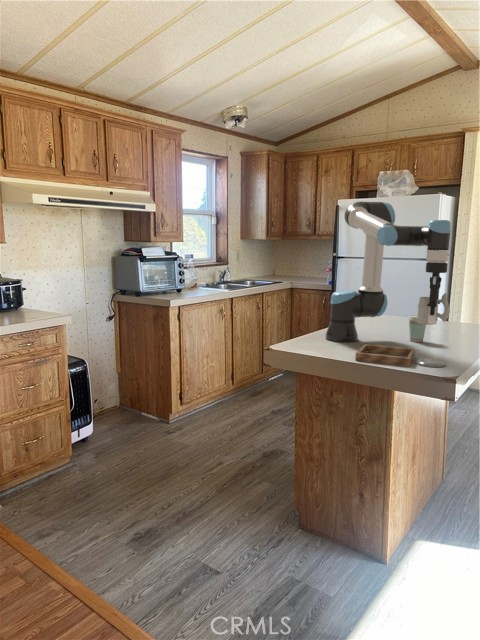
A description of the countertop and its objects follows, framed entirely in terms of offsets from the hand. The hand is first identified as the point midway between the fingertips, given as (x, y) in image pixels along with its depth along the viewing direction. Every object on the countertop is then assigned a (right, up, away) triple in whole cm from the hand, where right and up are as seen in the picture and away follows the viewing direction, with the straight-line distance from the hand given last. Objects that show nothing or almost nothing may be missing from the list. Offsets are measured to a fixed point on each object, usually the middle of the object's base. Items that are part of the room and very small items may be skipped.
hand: (432, 322), depth 183 cm
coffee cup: (+11, -9, +46) cm, 48 cm away
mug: (0, -1, 0) cm, 1 cm away
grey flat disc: (0, -16, +3) cm, 16 cm away
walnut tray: (-15, -15, +11) cm, 23 cm away
